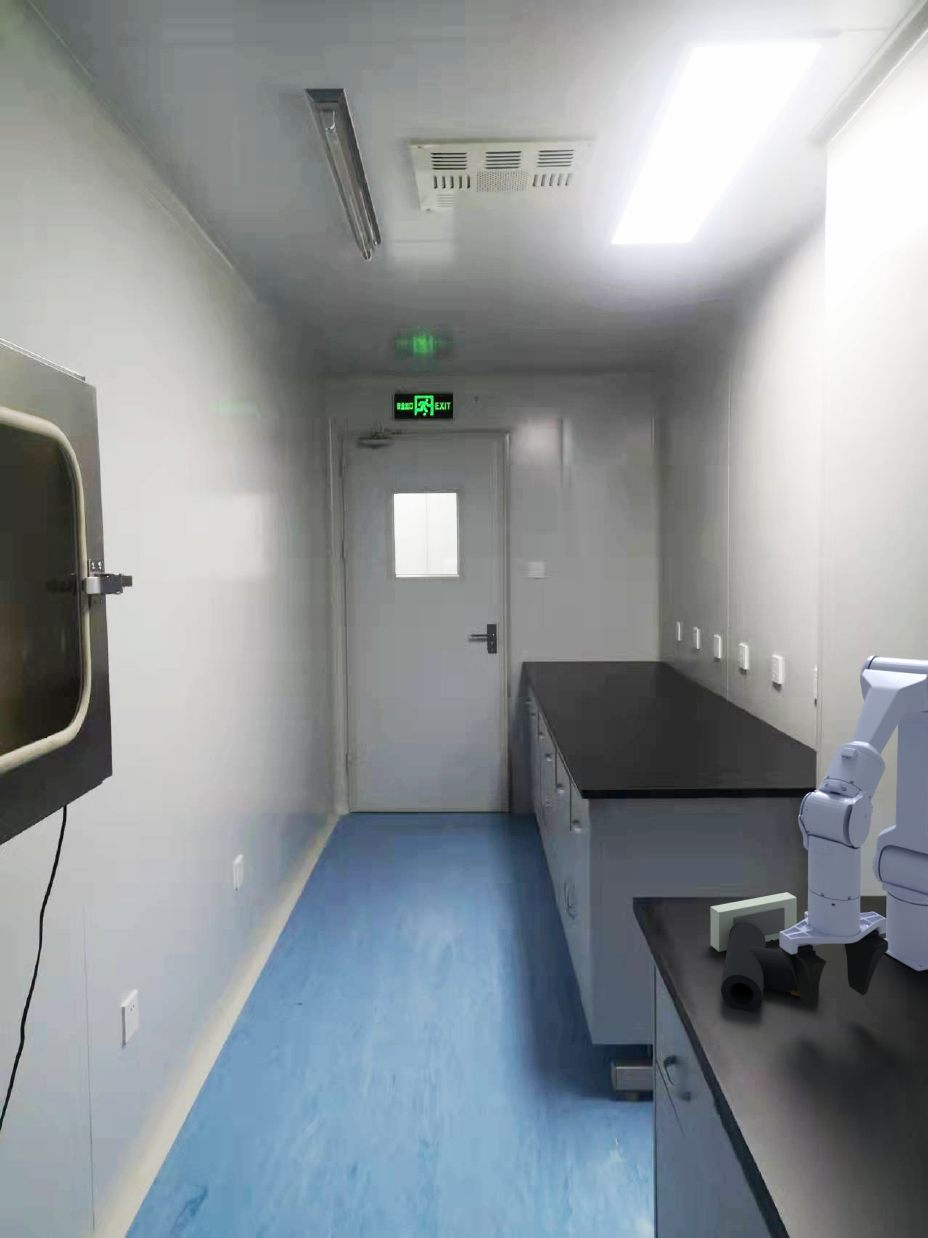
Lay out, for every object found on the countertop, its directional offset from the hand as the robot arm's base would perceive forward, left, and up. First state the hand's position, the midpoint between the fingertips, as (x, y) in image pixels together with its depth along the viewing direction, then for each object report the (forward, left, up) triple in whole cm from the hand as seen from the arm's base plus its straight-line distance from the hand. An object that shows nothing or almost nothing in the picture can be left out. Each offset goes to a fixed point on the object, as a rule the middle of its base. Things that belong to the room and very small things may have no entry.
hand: (833, 996), depth 90 cm
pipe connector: (+1, -9, -4) cm, 10 cm away
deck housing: (-4, -20, -3) cm, 21 cm away
